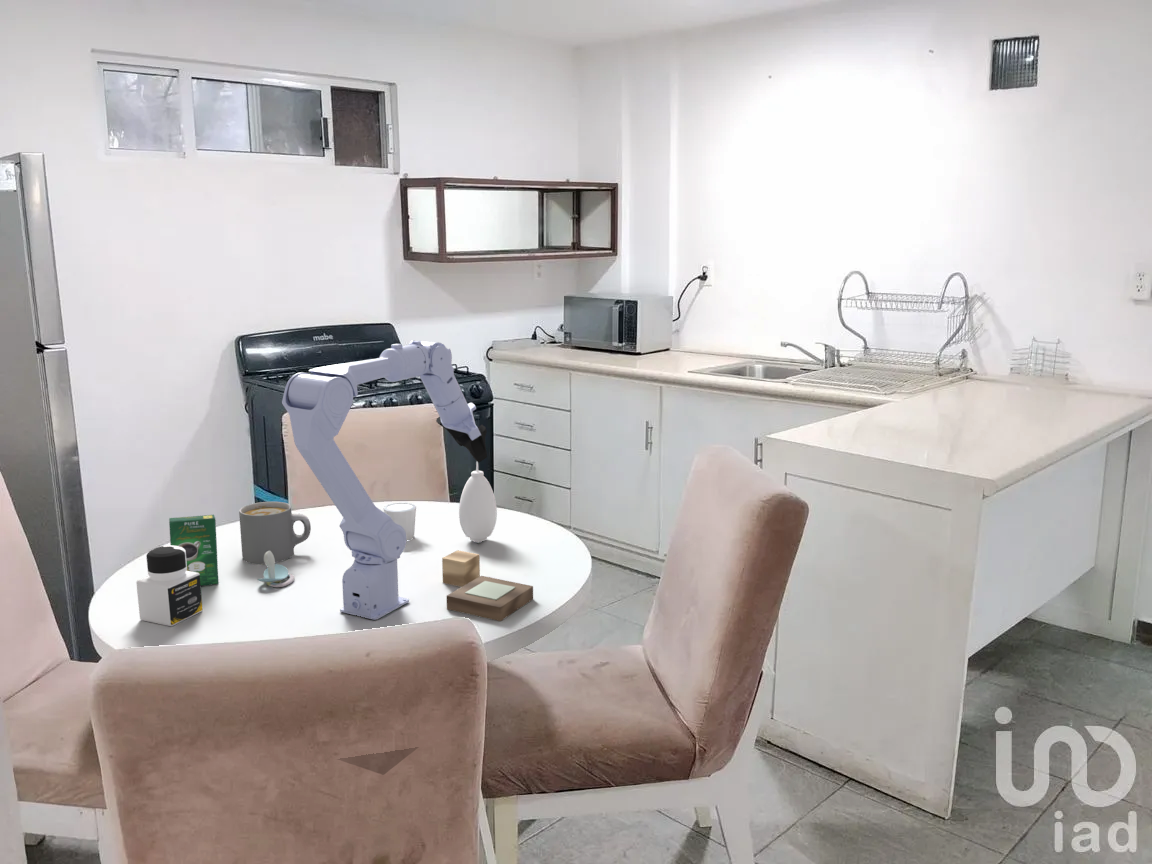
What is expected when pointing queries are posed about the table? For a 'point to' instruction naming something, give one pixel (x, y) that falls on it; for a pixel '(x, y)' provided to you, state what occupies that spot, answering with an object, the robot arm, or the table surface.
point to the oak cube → (460, 568)
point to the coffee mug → (270, 531)
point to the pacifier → (275, 572)
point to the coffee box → (197, 545)
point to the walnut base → (490, 598)
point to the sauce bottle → (477, 507)
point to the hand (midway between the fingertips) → (473, 451)
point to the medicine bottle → (168, 588)
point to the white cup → (403, 516)
